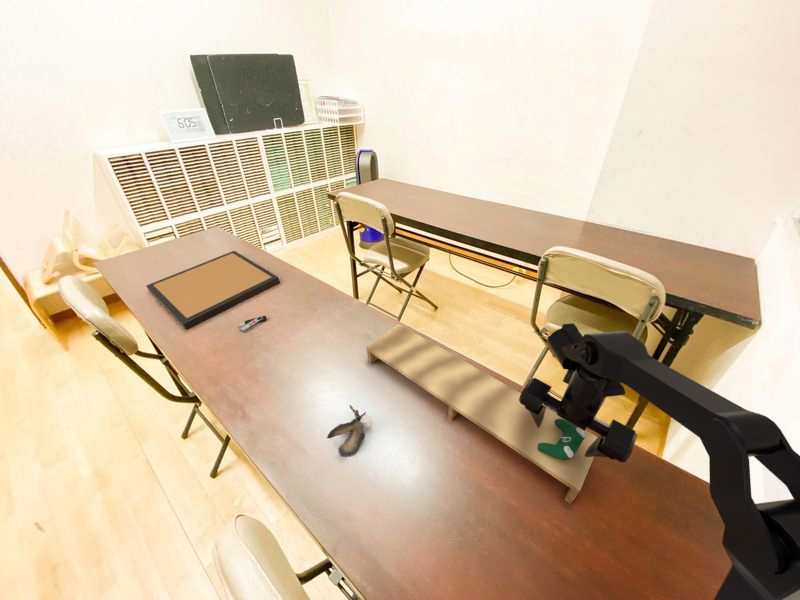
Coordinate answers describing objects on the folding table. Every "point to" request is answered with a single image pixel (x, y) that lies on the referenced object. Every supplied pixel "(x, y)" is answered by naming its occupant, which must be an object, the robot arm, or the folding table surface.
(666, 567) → the folding table surface
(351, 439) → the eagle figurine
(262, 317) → the usb flash drive
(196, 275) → the cork board
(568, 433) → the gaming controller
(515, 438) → the shelf
